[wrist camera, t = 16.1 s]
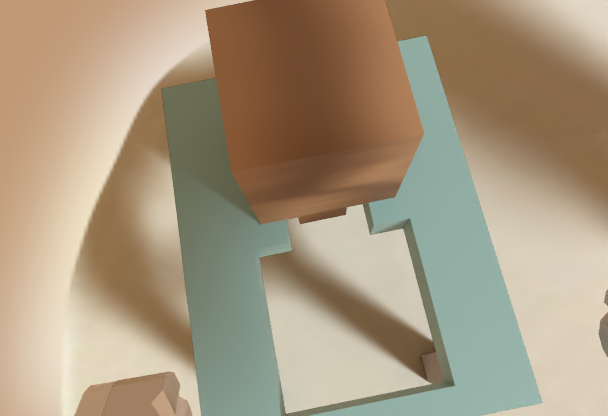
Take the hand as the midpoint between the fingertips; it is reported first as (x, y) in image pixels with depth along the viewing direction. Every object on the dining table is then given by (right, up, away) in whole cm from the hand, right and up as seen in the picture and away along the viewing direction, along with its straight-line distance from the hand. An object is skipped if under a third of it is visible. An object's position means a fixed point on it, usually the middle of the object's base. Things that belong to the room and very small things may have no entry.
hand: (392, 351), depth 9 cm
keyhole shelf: (0, -2, +26) cm, 26 cm away
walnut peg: (-1, +3, +22) cm, 22 cm away
